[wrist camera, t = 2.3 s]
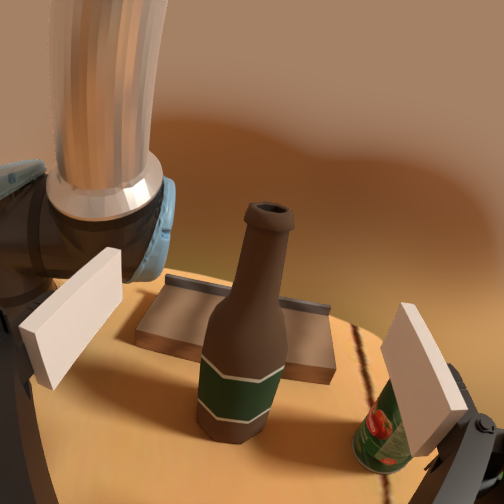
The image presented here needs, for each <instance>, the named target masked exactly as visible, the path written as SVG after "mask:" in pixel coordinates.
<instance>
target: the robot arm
mask: <svg viewBox="0 0 504 504" xmlns="http://www.w3.org/2000/svg"><path fill="white" fill-rule="evenodd" d="M167 4H168V0H50V4H49V22H48V76H49V95H50V108H51V119H52V128H53V137H54V144H55V152H56V159H57V162H56V163H55V164H54V165H53V167H52V168H51V170H50V172H49V174H45V172H46V167H45V164H44V162H43V161H42V160H35V159H31V160H24V161H18V162H14V163H10V164H6V165H2V166H0V504H59V503H58V500H57V497H56V494H55V491H54V488H53V484H52V481H51V478H50V474H49V471H48V467H47V463H46V459H45V456H44V451H43V447H42V443H41V438H40V434H39V429H38V424H37V419H36V413H35V407H34V401H33V394H32V387H31V383H30V380H29V378H30V377H31V376H32V375H33V373H34V374H35V377H36V380H37V382H38V384H40V385H42V386H44V387H46V388H48V389H51V390H53V391H54V390H55V388H56V387H57V385H58V384H59V383H60V381H61V380H62V378H63V377H64V376H65V374H66V373H67V371H68V370H69V369H70V367H71V366H72V365H73V363H74V362H75V361H76V359H77V358H78V357H79V355H80V354H81V353H82V351H83V350H84V349H85V347H86V346H87V345H88V343H89V342H90V341H91V339H92V338H93V337H94V335H95V334H96V333H97V332H98V330H99V329H100V328H101V326H102V325H103V324H104V323H105V321H106V320H107V319H108V317H109V316H110V315H111V314H112V312H113V311H114V310H115V309H116V307H117V306H118V305H119V304H120V302H121V301H122V300H123V296H122V283H125V284H129V283H131V282H150V281H153V280H155V279H156V278H157V277H158V276H159V275H160V274H161V272H162V270H163V268H164V265H165V261H166V257H167V253H168V249H169V243H170V232H171V228H172V224H173V217H174V208H175V184H174V182H173V180H171V179H169V178H166V177H165V176H163V172H162V167H161V164H160V162H159V160H158V159H157V158H156V157H155V155H154V154H152V153H151V152H150V151H149V138H150V126H151V115H152V104H153V94H154V87H155V78H156V71H157V63H158V56H159V49H160V43H161V36H162V31H163V25H164V19H165V14H166V9H167ZM53 278H58V279H69V280H67V281H66V282H65V283H64V284H63V285H62V286H61V287H60V288H59V289H58V288H57V286H56V284H55V282H54V280H53ZM381 351H382V354H383V358H384V361H385V364H386V367H387V370H388V373H389V377H390V380H391V383H392V386H393V390H394V393H395V396H396V400H397V403H398V407H399V410H400V414H401V418H402V421H403V425H404V429H405V433H406V436H407V440H408V444H409V448H410V452H411V456H412V457H420V456H428V455H429V454H430V453H431V452H432V451H433V450H434V449H435V448H436V447H437V449H438V453H439V454H438V455H437V456H436V457H435V458H434V459H433V460H432V461H431V462H430V463H429V464H428V465H427V466H426V467H425V469H424V470H425V471H426V470H427V469H428V468H429V467H430V468H429V469H428V471H427V473H426V475H425V476H424V478H423V480H422V482H421V483H420V485H419V487H418V488H417V490H416V492H415V493H414V495H413V497H412V498H411V500H410V501H409V503H408V504H504V429H499V428H496V425H495V423H494V422H493V420H492V419H491V418H490V417H488V416H487V415H485V414H482V413H478V411H477V409H476V407H475V405H474V403H473V401H472V399H471V396H470V394H469V392H468V390H466V386H465V384H464V383H463V382H462V381H463V380H462V378H461V376H460V374H459V372H458V371H457V370H456V369H455V368H454V367H453V366H452V365H451V364H447V363H446V362H445V360H444V358H443V356H442V354H441V352H440V350H439V348H438V346H437V345H436V343H435V341H434V339H433V337H432V335H431V333H430V331H429V330H428V328H427V326H426V324H425V322H424V321H423V319H422V317H421V316H420V314H419V312H418V310H417V308H416V307H415V305H414V304H408V303H402V302H401V303H400V305H399V308H398V310H397V312H396V315H395V317H394V319H393V321H392V324H391V326H390V328H389V330H388V333H387V335H386V337H385V339H384V341H383V343H382V345H381ZM502 472H503V477H502V479H501V473H502Z"/></svg>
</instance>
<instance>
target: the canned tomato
mask: <svg viewBox="0 0 504 504" xmlns="http://www.w3.org/2000/svg"><path fill="white" fill-rule="evenodd" d="M352 450H353V453H354V455H355V457H356V459H357V460H358V462H359V463H360V464H361V465H362V466H364V467H365V468H366V469H368V470H370V471H372V472H375V473H379V474H392V473H395V472H398V471H400V470H401V469H402V468H404V467H405V466H406V465H407V463H408V462H409V461H410V460H411V459H412V458H413V457H412V456H411V452H410V448H409V444H408V440H407V436H406V433H405V429H404V425H403V421H402V418H401V414H400V410H399V407H398V403H397V400H396V396H395V393H394V390H393V386H392V383H391V380H390V379H389V380H388V382H387V384H386V385H385V387H384V389H383V391H382V392H381V394H380V395H379V397H378V398H377V400H376V402H375V403H374V405H373V407H372V408H371V410H370V411H369V413H368V414H367V416H366V418H365V419H364V420H363V422H362V424H361V425H360V427H359V428H358V429H357V431H356V432H355V433H354V436H353V438H352Z"/></svg>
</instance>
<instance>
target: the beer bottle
mask: <svg viewBox="0 0 504 504" xmlns="http://www.w3.org/2000/svg"><path fill="white" fill-rule="evenodd" d="M244 221H245V222H246V223H247V227H246V232H245V236H244V240H243V245H242V249H241V254H240V258H239V263H238V267H237V272H236V276H235V280H234V282H233V285H232V288H231V291H230V293H229V295H228V296H227V297H225V298H224V299H223V300H222V301H221V302H220V303H218V304H217V305H216V307H215V308H214V310H213V312H212V313H211V315H210V317H209V320H208V325H207V329H206V333H205V338H204V343H203V348H202V353H201V363H200V375H199V387H198V400H197V423H198V424H199V425H200V426H201V427H202V428H203V429H204V430H205V431H206V432H207V433H208V435H209V436H210V437H211V438H212V439H213V440H214V441H220V442H228V443H236V444H242V443H244V442H245V441H247V440H248V439H250V438H251V437H253V436H254V435H256V434H257V433H259V432H260V431H262V429H263V427H264V424H265V422H266V419H267V417H268V414H269V411H270V408H271V405H272V402H273V399H274V396H275V393H276V390H277V387H278V384H279V381H280V378H281V375H282V372H283V369H284V366H285V362H286V357H287V352H288V344H287V333H286V324H285V317H284V314H283V312H282V310H281V308H280V306H279V292H280V285H281V279H282V274H283V268H284V261H285V255H286V249H287V242H288V236H289V231H291V230H293V229H294V215H293V212H292V210H290V209H289V208H287V207H285V206H282V205H280V204H277V203H271V202H265V201H263V202H255V203H250V204H249V206H248V208H247V211H246V213H245V217H244Z"/></svg>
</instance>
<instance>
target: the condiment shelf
mask: <svg viewBox="0 0 504 504" xmlns="http://www.w3.org/2000/svg"><path fill="white" fill-rule="evenodd" d="M231 288H232V287H229V286H224V285H219V284H214V283H209V282H204V281H199V280H195V279H190V278H185V277H180V276H176V275H171V274H166V275H165V285H164V286H163V288H162V289H161V291H160V292H159V294H158V295H157V297H156V298H155V300H154V301H153V303H152V304H151V306H150V307H149V309H148V310H147V312H146V313H145V315H144V317H143V318H142V320H141V321H140V323H139V324H138V326H137V327H136V329H135V332H136V346H137V347H141V348H144V349H148V350H152V351H155V352H159V353H163V354H167V355H171V356H175V357H179V358H183V359H187V360H191V361H196V362H200V363H201V353H202V348H203V343H204V338H205V333H206V329H207V325H208V320H209V317H210V315H211V313H212V312H213V310H214V308H215V307H216V305H217V304H218V303H220V302H221V301H222V300H223V299H224V298H225V297H227V296H228V295H229V293H230V291H231ZM279 306H280V308H281V310H282V312H283V314H284V317H285V324H286V333H287V344H288V352H287V357H286V362H285V366H284V369H283V372H282V375H281V378H284V379H290V380H297V381H304V382H312V383H320V384H328V385H329V384H330V382H331V380H332V378H333V375H334V373H335V371H336V363H335V356H334V349H333V342H332V336H331V329H330V323H329V317H328V315H329V312H330V310H331V306H330V305H325V304H320V303H314V302H308V301H303V300H297V299H292V298H286V297H281V296H279Z"/></svg>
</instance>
